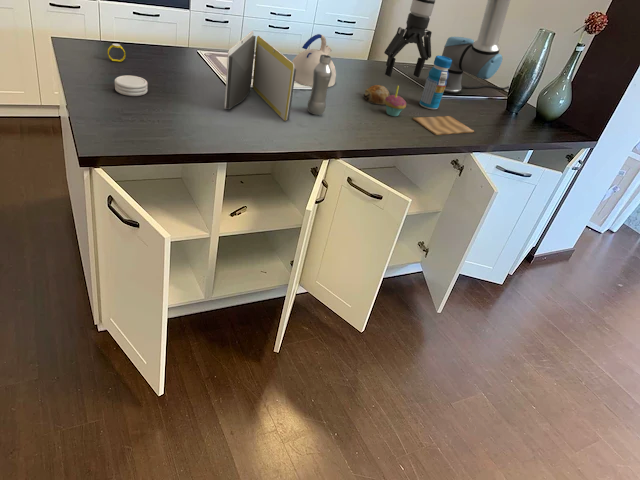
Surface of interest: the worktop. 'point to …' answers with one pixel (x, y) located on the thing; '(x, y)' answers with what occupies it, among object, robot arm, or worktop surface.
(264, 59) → the grey folded panel
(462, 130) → the light brown flat board
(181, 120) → the worktop surface
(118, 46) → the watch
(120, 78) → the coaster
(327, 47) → the kettle
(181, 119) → the worktop surface
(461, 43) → the robot arm
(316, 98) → the plastic bottle
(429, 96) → the beverage bottle
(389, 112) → the cupcake
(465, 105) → the worktop surface
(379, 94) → the bread roll
